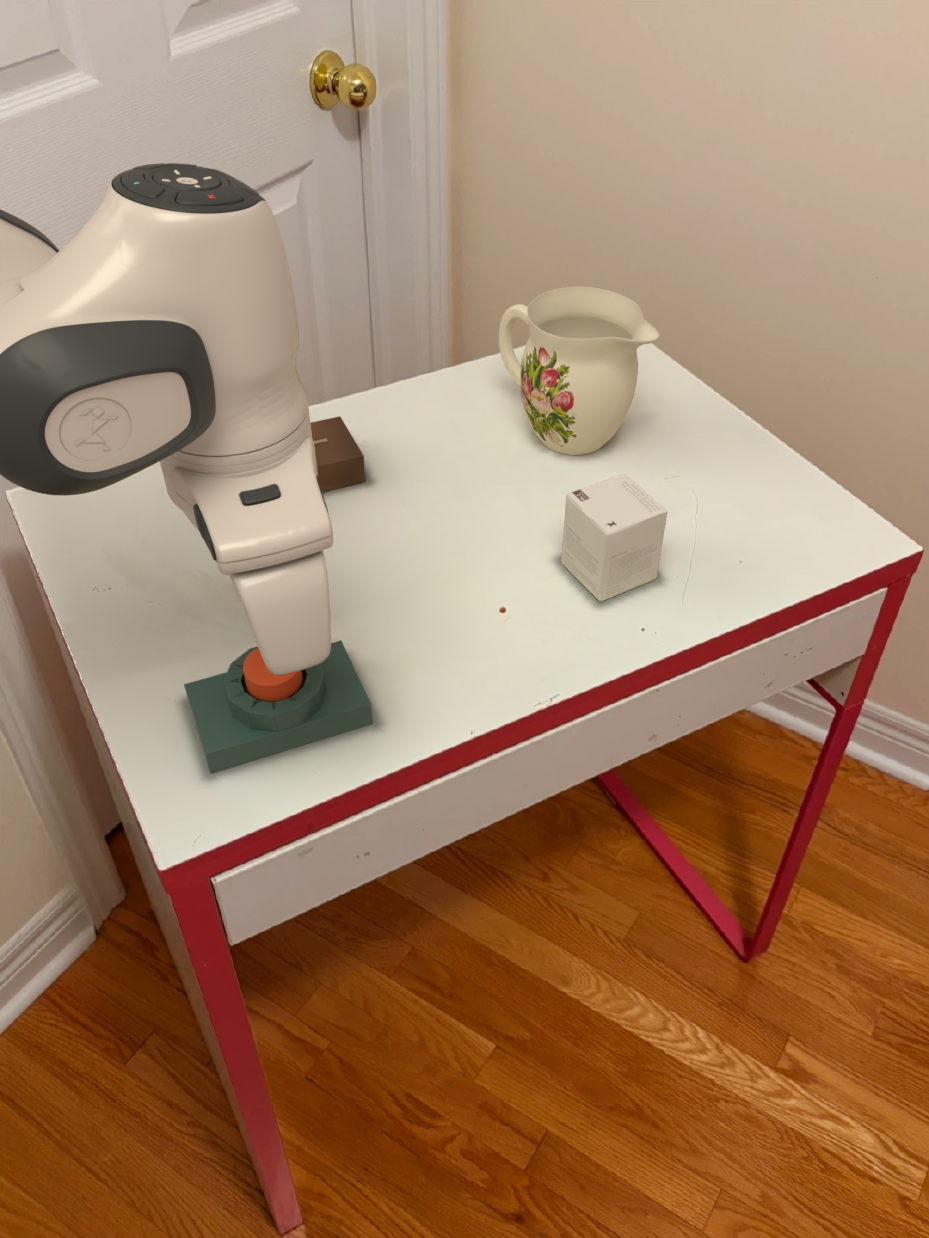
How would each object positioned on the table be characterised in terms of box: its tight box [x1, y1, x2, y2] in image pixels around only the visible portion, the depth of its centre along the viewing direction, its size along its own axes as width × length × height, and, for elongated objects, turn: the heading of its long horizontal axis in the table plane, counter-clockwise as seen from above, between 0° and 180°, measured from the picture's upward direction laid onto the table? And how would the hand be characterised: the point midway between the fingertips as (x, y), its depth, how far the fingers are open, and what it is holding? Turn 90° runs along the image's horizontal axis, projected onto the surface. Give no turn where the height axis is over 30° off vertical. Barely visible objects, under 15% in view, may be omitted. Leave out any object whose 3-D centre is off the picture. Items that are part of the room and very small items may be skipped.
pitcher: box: [498, 285, 661, 456], centre depth 99 cm, size 11×18×14 cm, turn 45°
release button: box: [243, 648, 303, 702], centre depth 74 cm, size 4×4×2 cm
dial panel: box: [310, 415, 366, 493], centre depth 97 cm, size 14×9×3 cm, turn 113°
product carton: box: [560, 473, 668, 602], centre depth 87 cm, size 6×6×7 cm
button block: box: [183, 640, 374, 774], centre depth 76 cm, size 12×7×4 cm, turn 113°
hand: (269, 623), depth 71 cm, fingers closed
